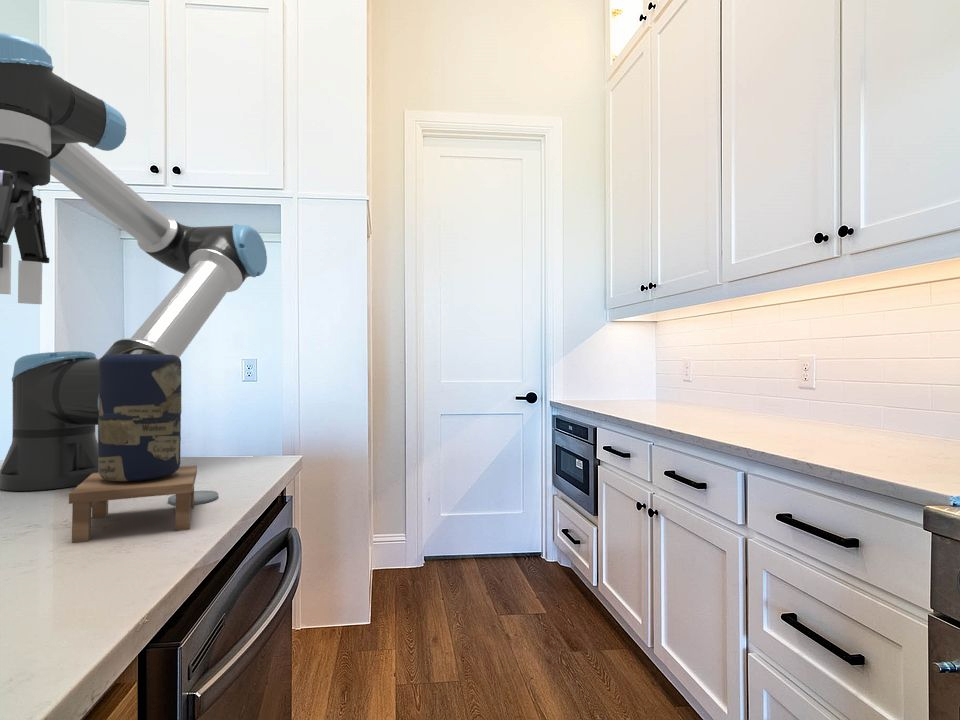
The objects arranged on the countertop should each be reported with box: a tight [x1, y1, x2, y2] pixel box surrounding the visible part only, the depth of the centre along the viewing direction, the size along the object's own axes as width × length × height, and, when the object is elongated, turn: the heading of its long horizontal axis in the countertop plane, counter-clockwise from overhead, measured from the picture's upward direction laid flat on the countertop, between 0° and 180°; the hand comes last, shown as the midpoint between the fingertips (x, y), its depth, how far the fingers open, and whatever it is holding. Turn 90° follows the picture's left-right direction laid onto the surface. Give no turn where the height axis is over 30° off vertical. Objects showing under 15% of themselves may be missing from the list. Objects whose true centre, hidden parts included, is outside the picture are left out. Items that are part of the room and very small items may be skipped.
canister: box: [97, 347, 182, 481], centre depth 71 cm, size 10×10×18 cm
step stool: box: [68, 465, 198, 544], centre depth 71 cm, size 13×13×6 cm
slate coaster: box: [167, 490, 219, 506], centre depth 83 cm, size 7×7×1 cm
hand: (14, 299), depth 74 cm, fingers open, 13 cm apart
